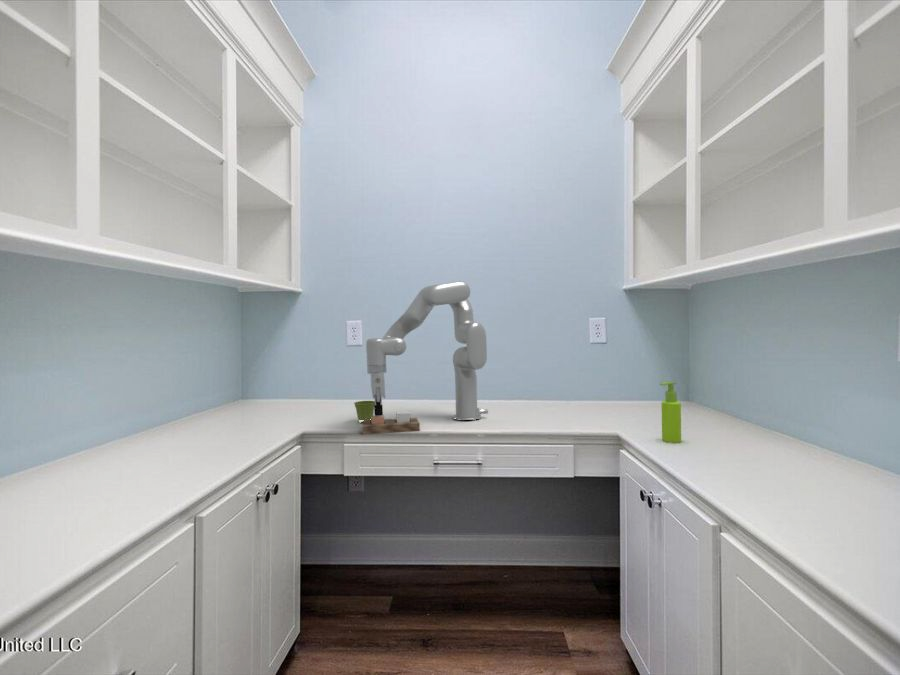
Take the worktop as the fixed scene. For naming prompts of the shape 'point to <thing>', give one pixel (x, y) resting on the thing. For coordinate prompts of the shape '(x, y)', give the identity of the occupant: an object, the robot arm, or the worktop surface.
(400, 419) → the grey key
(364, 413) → the plant pot
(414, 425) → the brown rectangular frame
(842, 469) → the worktop surface
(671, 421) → the soap dispenser
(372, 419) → the terracotta key
